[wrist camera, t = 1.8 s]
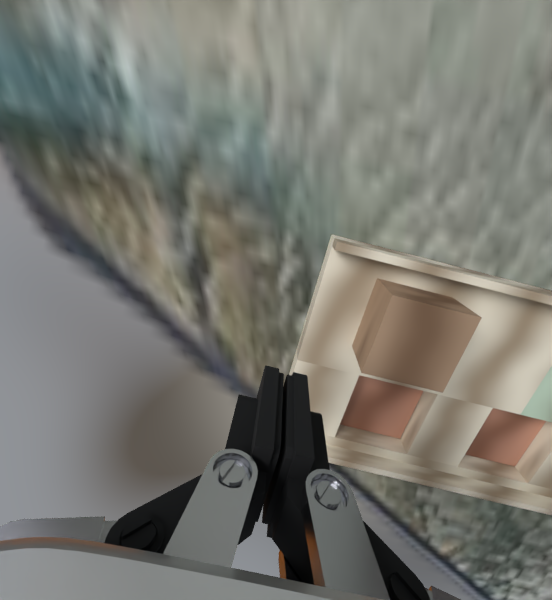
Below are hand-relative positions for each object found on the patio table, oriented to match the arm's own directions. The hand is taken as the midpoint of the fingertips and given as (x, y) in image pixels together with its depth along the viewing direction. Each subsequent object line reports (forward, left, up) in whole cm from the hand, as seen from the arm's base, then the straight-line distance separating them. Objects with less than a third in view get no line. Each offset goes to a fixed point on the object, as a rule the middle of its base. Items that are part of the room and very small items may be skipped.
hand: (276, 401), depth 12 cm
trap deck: (-17, +5, -15) cm, 23 cm away
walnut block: (-9, 0, -13) cm, 16 cm away
